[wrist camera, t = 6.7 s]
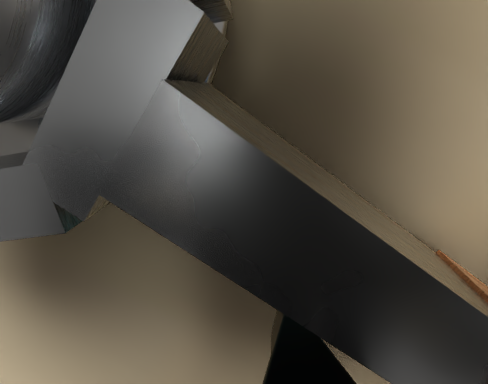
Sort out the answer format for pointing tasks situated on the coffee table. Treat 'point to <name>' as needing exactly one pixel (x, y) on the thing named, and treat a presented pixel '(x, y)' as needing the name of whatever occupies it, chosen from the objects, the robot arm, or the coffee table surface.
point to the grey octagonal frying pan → (236, 196)
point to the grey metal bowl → (38, 62)
